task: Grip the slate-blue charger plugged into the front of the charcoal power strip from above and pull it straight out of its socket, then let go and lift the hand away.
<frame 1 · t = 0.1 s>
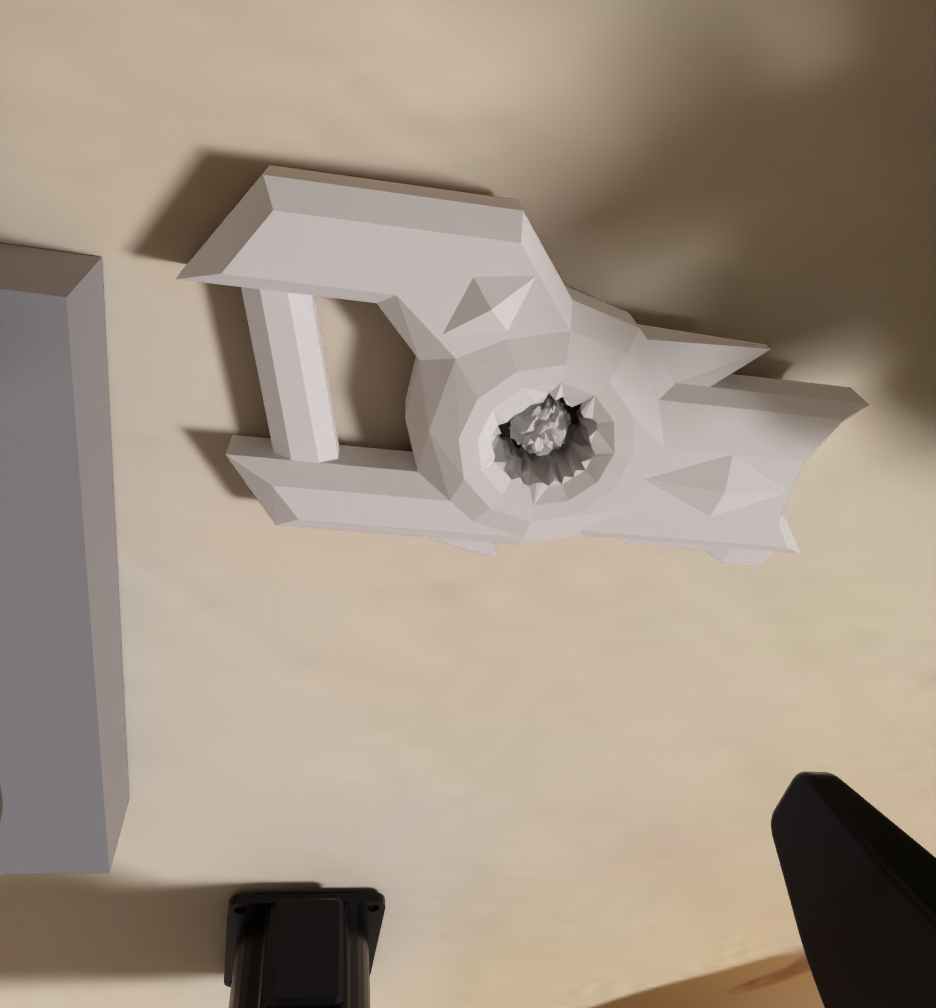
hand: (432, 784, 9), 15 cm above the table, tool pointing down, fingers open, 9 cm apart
power strip: (11, 577, 24), on the table
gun: (521, 376, 23), on the table
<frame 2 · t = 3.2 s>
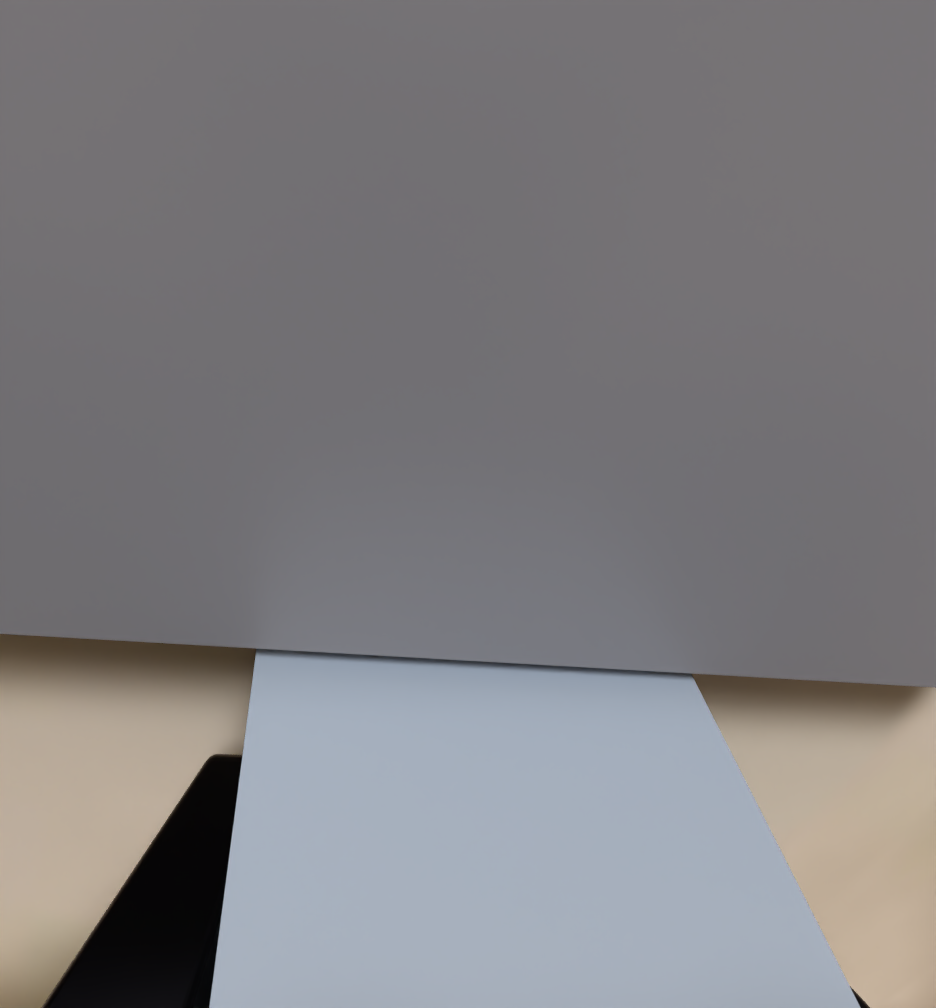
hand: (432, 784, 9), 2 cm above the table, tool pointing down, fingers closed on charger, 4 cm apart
power strip: (305, 175, 7), on the table
charger: (444, 922, 8), point 4 cm above the table, slide at 0.0 cm, touching gripper
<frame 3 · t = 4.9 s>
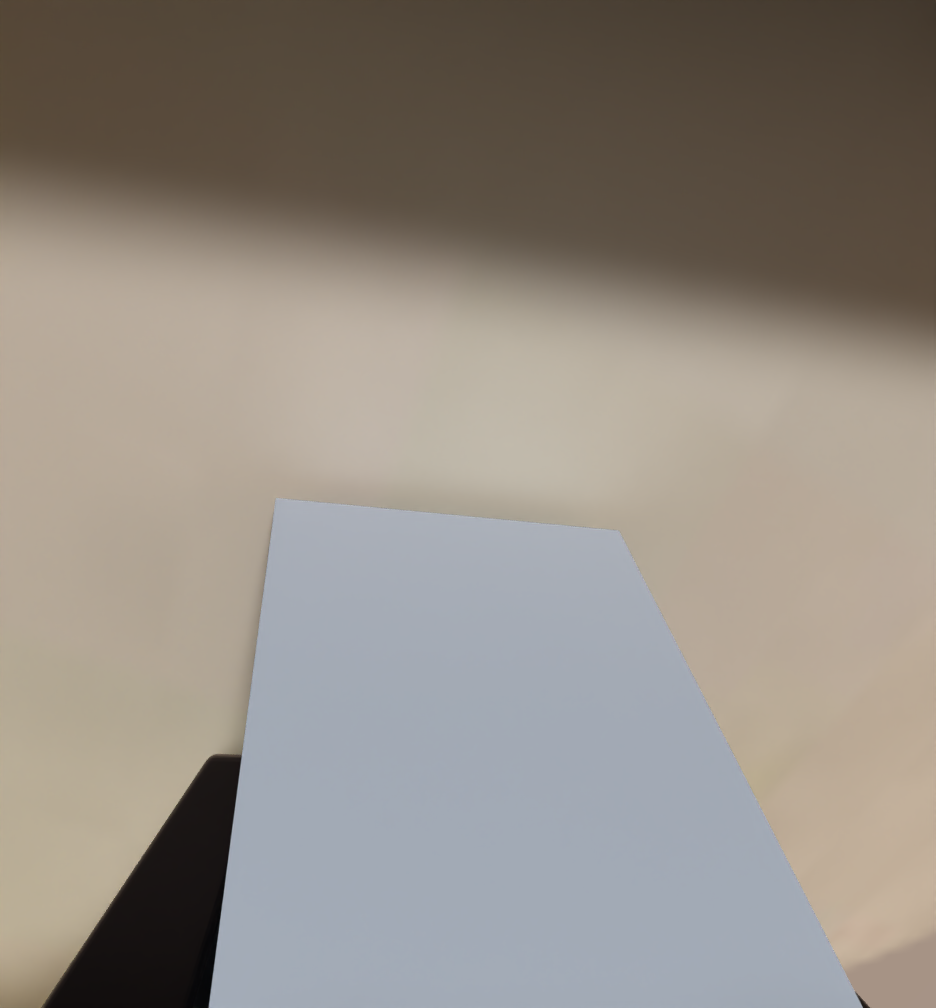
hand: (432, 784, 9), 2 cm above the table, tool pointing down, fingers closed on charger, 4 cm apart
charger: (445, 921, 8), point 4 cm above the table, slide at 5.8 cm, touching gripper
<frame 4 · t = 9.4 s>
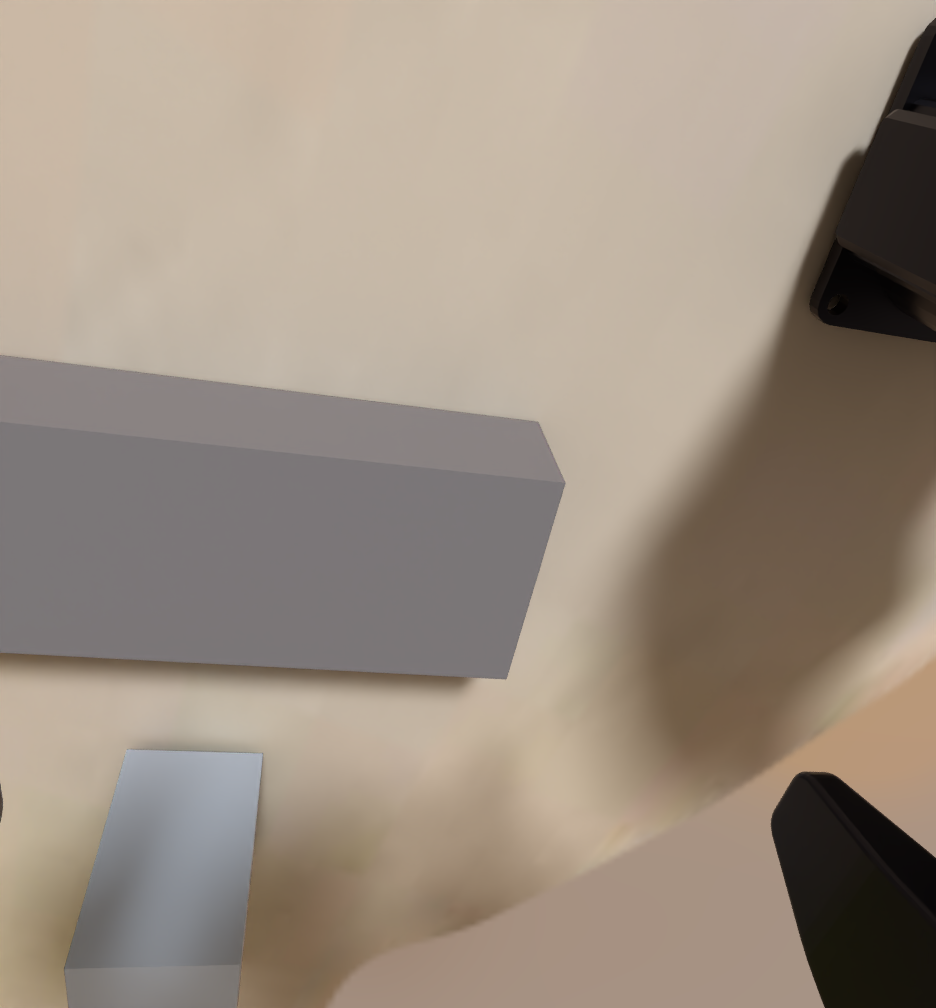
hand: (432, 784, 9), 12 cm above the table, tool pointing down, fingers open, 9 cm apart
power strip: (121, 482, 20), on the table
charger: (176, 901, 23), point 4 cm above the table, slide at 6.0 cm
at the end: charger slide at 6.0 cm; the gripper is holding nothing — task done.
